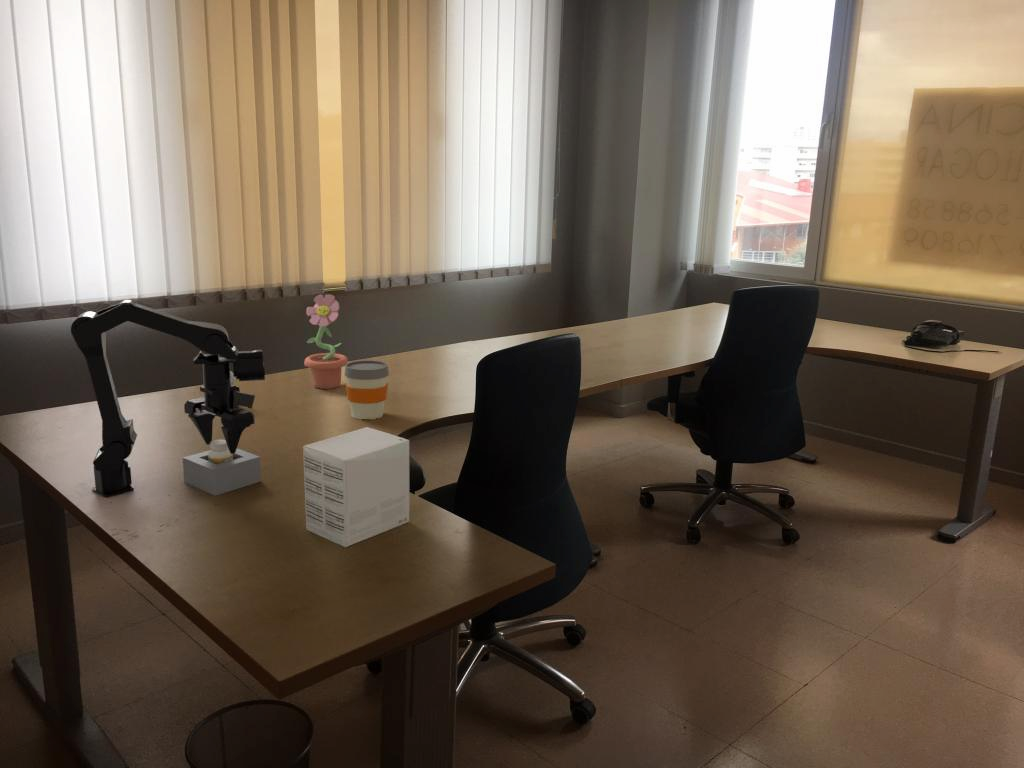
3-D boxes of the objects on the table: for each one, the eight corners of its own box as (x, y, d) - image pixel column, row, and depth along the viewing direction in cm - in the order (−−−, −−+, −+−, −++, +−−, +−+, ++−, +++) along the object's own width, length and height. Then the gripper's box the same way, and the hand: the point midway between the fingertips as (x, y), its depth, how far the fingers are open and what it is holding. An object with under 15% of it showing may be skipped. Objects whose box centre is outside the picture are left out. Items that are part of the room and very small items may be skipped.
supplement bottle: (239, 480, 201) (237, 440, 199) (221, 487, 197) (219, 447, 194) (222, 476, 204) (220, 436, 201) (204, 483, 199) (201, 443, 197)
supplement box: (368, 505, 189) (367, 425, 185) (411, 522, 181) (411, 439, 177) (303, 529, 176) (300, 444, 172) (346, 549, 168) (344, 460, 164)
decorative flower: (293, 389, 281) (290, 296, 273) (315, 379, 293) (313, 290, 286) (335, 393, 277) (333, 299, 269) (355, 383, 289) (354, 293, 282)
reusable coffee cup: (393, 410, 260) (393, 361, 257) (383, 422, 248) (382, 371, 244) (352, 408, 261) (351, 359, 258) (340, 420, 249) (338, 368, 246)
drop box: (215, 495, 192) (213, 470, 191) (184, 482, 199) (182, 457, 198) (260, 481, 201) (259, 456, 200) (229, 469, 208) (228, 445, 207)
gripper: (273, 383, 195) (276, 449, 199) (223, 369, 206) (227, 432, 210) (230, 392, 186) (233, 461, 190) (180, 377, 197) (185, 442, 201)
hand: (220, 448), depth 198 cm, fingers open, 9 cm apart
